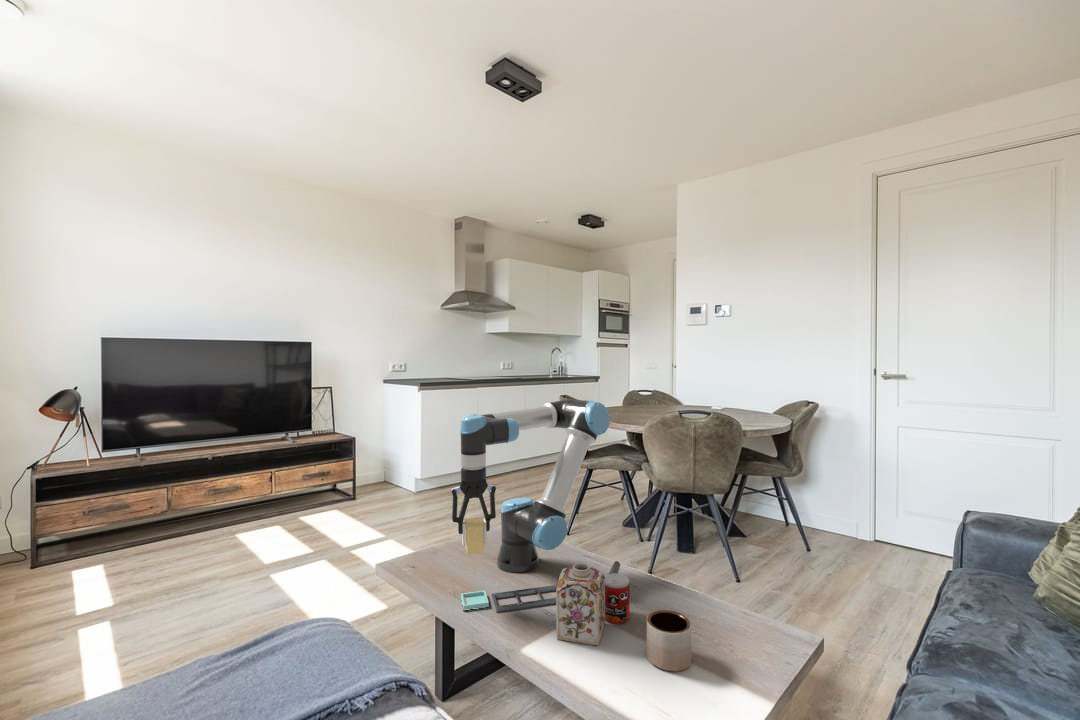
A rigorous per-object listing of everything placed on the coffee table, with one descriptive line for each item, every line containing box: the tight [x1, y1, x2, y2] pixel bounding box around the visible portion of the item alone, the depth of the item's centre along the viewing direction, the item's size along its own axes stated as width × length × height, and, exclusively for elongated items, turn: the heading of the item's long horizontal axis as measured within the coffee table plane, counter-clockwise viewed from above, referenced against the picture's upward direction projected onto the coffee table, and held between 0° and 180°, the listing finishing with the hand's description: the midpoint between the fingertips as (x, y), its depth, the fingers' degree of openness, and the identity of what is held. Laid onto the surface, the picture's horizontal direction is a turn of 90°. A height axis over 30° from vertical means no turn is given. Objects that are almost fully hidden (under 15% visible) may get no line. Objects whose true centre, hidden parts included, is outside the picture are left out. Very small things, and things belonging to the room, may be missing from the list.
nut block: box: [463, 517, 485, 555], centre depth 148 cm, size 6×6×9 cm
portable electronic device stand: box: [608, 560, 621, 574], centre depth 154 cm, size 9×8×8 cm
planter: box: [645, 609, 693, 672], centre depth 121 cm, size 11×11×10 cm
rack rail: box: [490, 584, 557, 613], centre depth 150 cm, size 22×9×1 cm, turn 105°
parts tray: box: [460, 590, 490, 610], centre depth 148 cm, size 8×8×2 cm
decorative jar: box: [555, 562, 606, 646], centre depth 133 cm, size 12×12×18 cm
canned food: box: [604, 573, 630, 625], centre depth 140 cm, size 8×8×11 cm
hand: (474, 542), depth 148 cm, fingers closed on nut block, 6 cm apart
